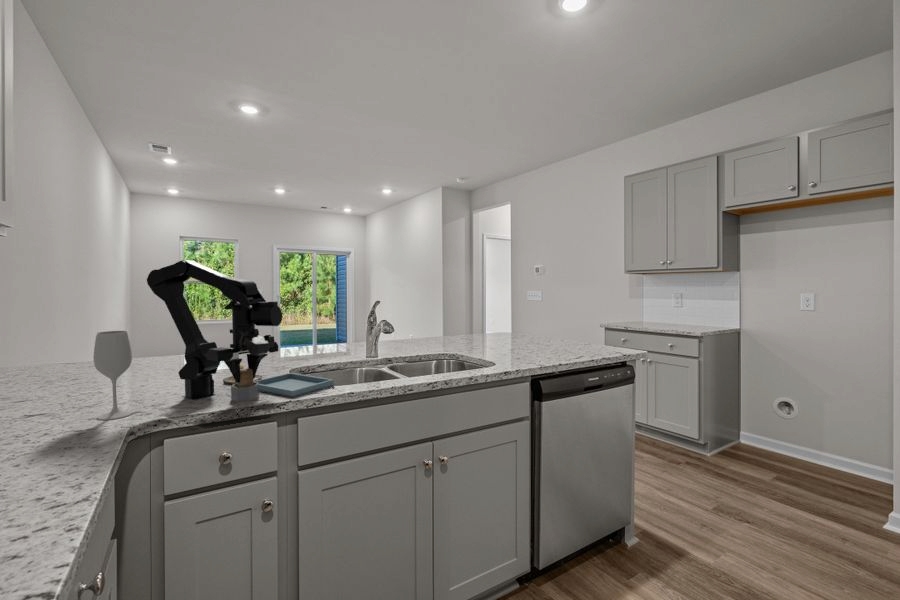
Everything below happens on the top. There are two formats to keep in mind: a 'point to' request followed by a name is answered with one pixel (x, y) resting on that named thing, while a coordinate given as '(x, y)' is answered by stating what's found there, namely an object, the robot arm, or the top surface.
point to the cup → (245, 392)
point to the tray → (293, 384)
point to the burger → (232, 381)
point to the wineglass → (113, 364)
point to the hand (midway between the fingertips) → (245, 380)
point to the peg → (245, 378)
